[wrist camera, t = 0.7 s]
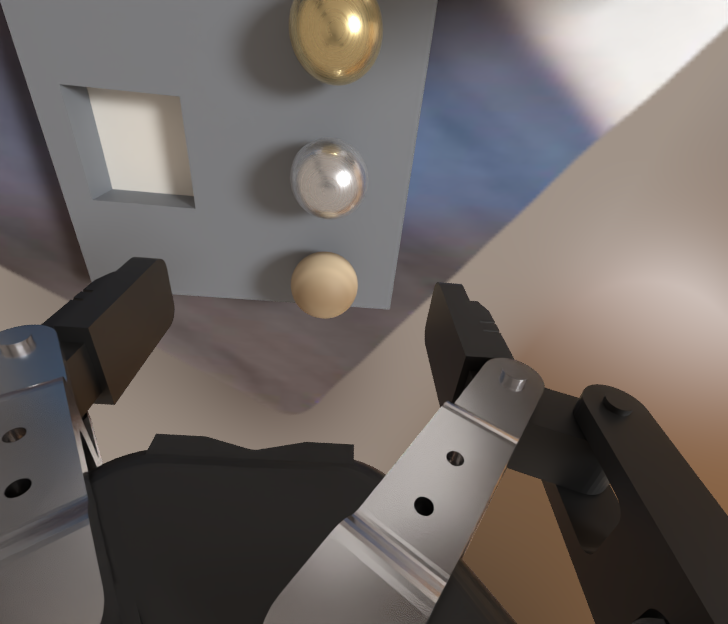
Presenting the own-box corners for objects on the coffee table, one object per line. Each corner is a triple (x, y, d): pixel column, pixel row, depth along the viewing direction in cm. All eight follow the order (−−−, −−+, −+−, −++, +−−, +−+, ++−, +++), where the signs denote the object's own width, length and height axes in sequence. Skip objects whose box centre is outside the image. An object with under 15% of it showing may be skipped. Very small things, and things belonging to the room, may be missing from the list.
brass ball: (294, -28, 19) (280, -48, 16) (385, -16, 20) (392, -34, 16) (295, 78, 22) (282, 83, 18) (375, 87, 22) (379, 93, 18)
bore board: (17, -72, 20) (-30, -90, 18) (432, -19, 22) (442, -29, 19) (114, 269, 31) (93, 288, 29) (386, 289, 33) (389, 309, 30)
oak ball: (295, 238, 27) (285, 267, 23) (360, 243, 27) (361, 273, 23) (295, 294, 29) (286, 329, 26) (355, 298, 30) (354, 333, 26)
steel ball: (295, 127, 23) (283, 141, 19) (370, 135, 23) (373, 150, 20) (295, 202, 26) (284, 227, 22) (363, 208, 26) (365, 234, 22)
